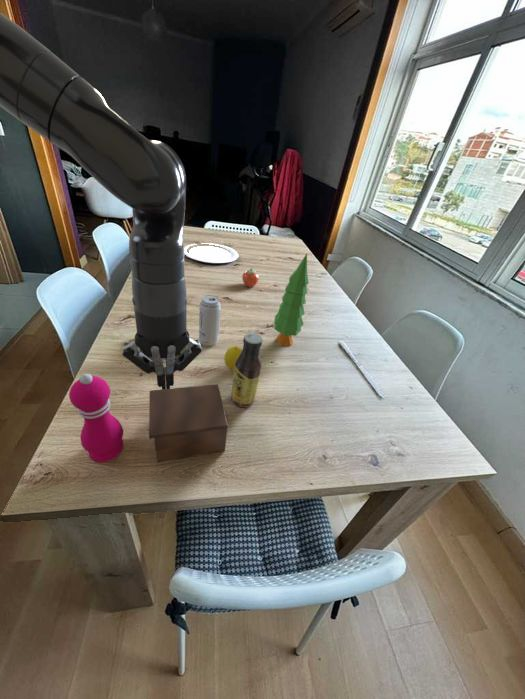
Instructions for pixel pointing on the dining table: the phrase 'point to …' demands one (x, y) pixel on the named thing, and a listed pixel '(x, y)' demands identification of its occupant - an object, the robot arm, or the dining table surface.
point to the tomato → (250, 278)
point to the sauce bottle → (247, 371)
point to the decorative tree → (292, 305)
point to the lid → (185, 411)
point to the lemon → (232, 356)
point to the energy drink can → (209, 320)
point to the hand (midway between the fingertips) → (165, 385)
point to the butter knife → (362, 369)
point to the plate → (211, 253)
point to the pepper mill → (97, 418)
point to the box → (190, 444)
